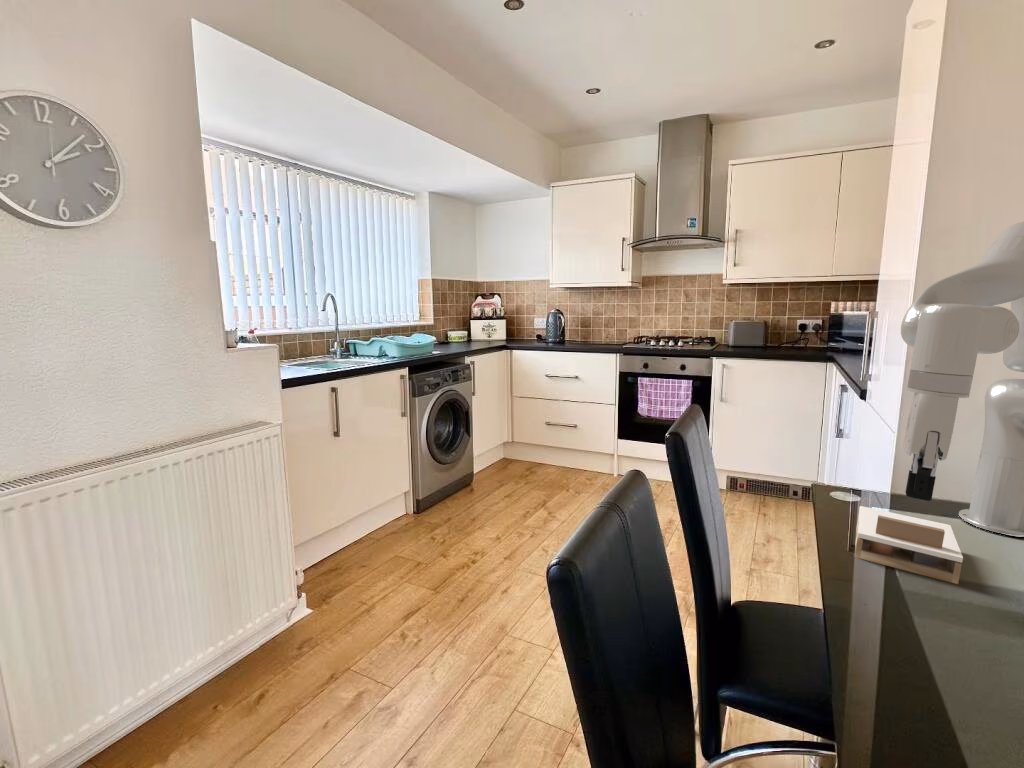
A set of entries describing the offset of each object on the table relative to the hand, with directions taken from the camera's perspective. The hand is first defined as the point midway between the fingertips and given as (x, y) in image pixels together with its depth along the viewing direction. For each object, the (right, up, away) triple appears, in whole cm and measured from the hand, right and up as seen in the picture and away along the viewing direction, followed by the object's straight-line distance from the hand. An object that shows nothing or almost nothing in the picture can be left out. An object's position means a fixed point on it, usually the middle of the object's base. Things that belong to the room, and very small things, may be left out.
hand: (917, 497), depth 81 cm
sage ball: (+7, -13, +12) cm, 19 cm away
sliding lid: (+6, -9, +11) cm, 15 cm away
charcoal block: (+6, -13, +6) cm, 16 cm away
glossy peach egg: (+2, -13, +10) cm, 16 cm away
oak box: (+6, -13, +11) cm, 18 cm away
